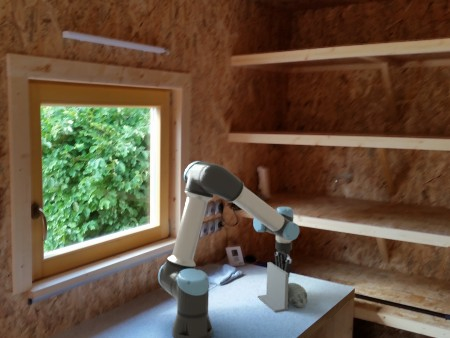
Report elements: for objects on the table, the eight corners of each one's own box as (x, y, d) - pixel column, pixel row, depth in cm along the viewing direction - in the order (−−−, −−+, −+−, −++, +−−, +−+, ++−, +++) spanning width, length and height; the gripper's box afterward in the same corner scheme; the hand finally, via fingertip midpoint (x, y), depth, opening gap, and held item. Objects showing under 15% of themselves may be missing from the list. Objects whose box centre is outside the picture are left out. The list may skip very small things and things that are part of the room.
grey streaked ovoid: (314, 302, 197) (303, 281, 197) (295, 313, 195) (284, 292, 196) (305, 297, 210) (295, 277, 211) (287, 307, 209) (277, 288, 209)
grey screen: (275, 312, 194) (276, 275, 192) (257, 297, 209) (258, 263, 206) (287, 310, 196) (288, 273, 194) (269, 295, 211) (270, 262, 209)
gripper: (298, 244, 206) (296, 294, 209) (283, 236, 218) (281, 284, 221) (284, 245, 203) (282, 297, 206) (269, 237, 215) (268, 286, 218)
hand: (282, 290), depth 213 cm, fingers closed
